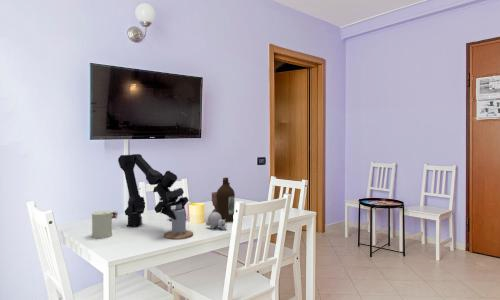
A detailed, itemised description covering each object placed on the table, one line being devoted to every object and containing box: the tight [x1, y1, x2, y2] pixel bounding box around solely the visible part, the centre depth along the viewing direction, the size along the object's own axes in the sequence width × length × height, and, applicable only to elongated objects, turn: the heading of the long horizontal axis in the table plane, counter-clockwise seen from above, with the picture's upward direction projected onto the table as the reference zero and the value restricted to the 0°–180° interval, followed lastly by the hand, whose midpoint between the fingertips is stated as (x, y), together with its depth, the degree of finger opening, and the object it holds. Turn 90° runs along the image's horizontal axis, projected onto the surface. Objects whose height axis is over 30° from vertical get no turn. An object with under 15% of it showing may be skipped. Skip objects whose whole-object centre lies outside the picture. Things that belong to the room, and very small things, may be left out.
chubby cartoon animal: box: [205, 211, 227, 231], centre depth 191 cm, size 7×12×8 cm, turn 55°
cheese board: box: [163, 229, 194, 240], centre depth 178 cm, size 14×14×4 cm
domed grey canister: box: [171, 204, 187, 233], centre depth 178 cm, size 7×7×13 cm
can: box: [91, 210, 113, 239], centre depth 176 cm, size 9×9×12 cm
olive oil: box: [216, 177, 236, 223], centre depth 210 cm, size 11×11×25 cm
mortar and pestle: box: [211, 181, 231, 213], centre depth 230 cm, size 12×9×20 cm
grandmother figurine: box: [112, 210, 119, 218], centre depth 214 cm, size 8×4×13 cm
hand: (180, 218), depth 177 cm, fingers closed on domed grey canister, 7 cm apart
